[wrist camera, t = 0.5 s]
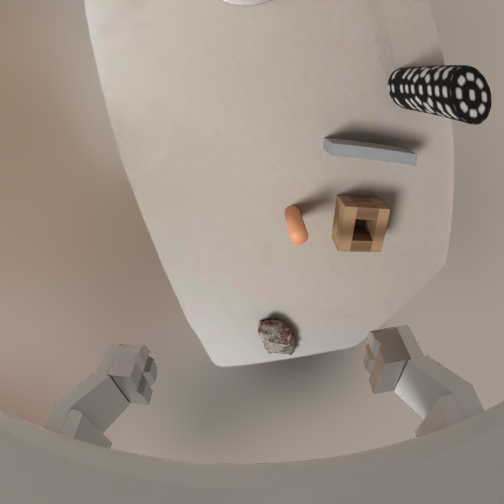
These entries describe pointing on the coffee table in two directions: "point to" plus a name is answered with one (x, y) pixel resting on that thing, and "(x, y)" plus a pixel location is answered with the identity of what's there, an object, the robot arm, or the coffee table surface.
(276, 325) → the mineral rock
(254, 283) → the coffee table surface
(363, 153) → the slab
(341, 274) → the coffee table surface
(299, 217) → the orange rounded capsule
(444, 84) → the white-spotted black cylinder
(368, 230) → the block
